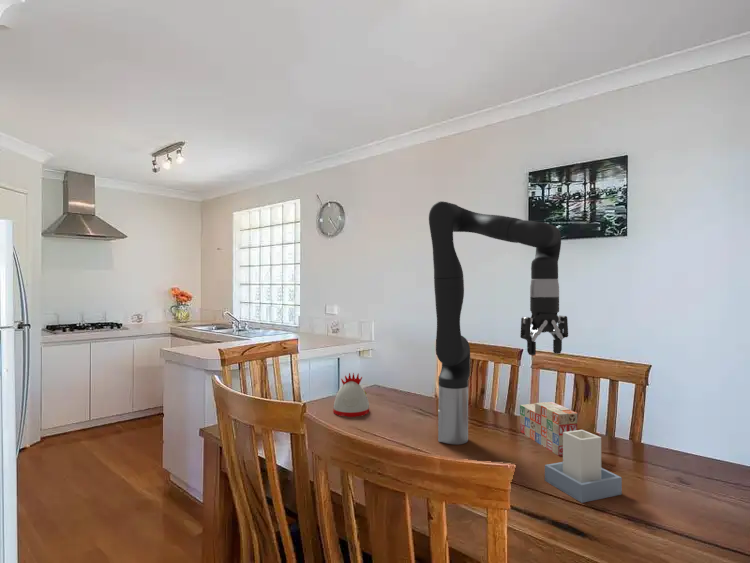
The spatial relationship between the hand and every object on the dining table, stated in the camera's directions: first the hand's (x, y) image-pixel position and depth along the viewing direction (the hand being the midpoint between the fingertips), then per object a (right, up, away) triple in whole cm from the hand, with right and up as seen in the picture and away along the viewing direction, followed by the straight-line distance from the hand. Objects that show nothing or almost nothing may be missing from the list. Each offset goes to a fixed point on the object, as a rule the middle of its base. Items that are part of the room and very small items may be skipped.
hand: (544, 354), depth 124 cm
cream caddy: (+3, -29, -15) cm, 33 cm away
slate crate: (+3, -30, -15) cm, 34 cm away
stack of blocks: (+7, -31, +16) cm, 35 cm away
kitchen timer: (-56, -31, +50) cm, 81 cm away
